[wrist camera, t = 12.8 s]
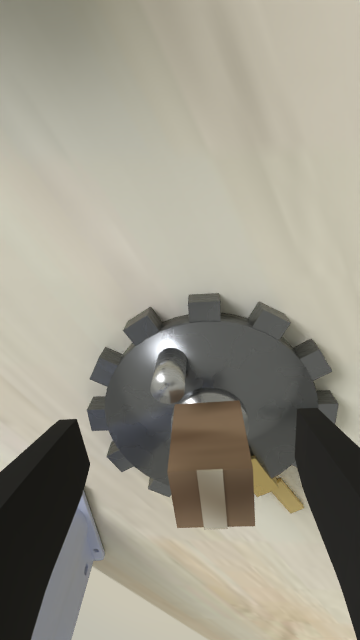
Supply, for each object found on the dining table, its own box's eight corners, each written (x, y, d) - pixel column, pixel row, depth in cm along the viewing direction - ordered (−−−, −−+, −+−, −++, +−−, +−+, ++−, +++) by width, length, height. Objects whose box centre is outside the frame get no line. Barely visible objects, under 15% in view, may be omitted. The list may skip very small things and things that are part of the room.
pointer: (302, 504, 25) (303, 508, 25) (289, 510, 26) (290, 513, 25) (280, 477, 24) (281, 481, 24) (267, 483, 25) (267, 487, 24)
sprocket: (381, 362, 20) (429, 407, 16) (249, 512, 26) (258, 573, 22) (149, 247, 18) (134, 264, 14) (64, 439, 24) (36, 492, 20)
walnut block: (242, 450, 20) (255, 528, 16) (181, 453, 21) (177, 529, 16) (239, 400, 19) (253, 469, 14) (174, 404, 19) (167, 473, 15)
